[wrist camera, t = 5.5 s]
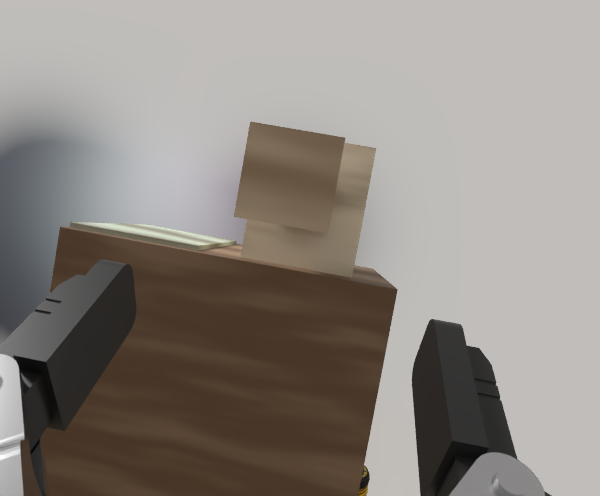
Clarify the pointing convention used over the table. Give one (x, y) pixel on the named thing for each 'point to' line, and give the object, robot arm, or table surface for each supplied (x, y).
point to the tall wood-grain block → (223, 373)
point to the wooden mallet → (303, 198)
